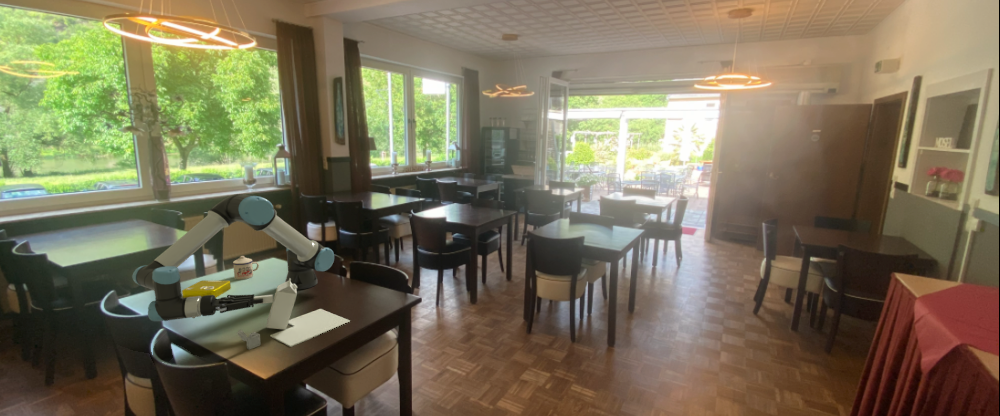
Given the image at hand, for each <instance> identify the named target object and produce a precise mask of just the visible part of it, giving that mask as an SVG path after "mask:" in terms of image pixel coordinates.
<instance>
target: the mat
mask: <svg viewBox="0 0 1000 416" xmlns="http://www.w3.org/2000/svg"><path fill="white" fill-rule="evenodd" d="M350 321H351V320H349V319H348V318H344V317H342V316H339V315H337V314H334V313H332V312H330V311H326V310H324V309H323V308H319V309H316V310H314V311H310V312H308V313H305V314H302V315H299V316H297V317H293V318H290V319H289V322H288V325H290V326H291V327H287V329H285V330H284V329H282V330H279V331H277V332H275V333H272V334H270V336H269V337H271V338H272V339H274V340H276V341H278V342H280V343H283V344H284V345H286V346H287V347H291V348H292V347H294V346H296V345H298V344H301V343H303V342H306V341H308V340H309V341H310V340H311V339H313V337H314V338H316V337H318V336H320V334H321V335H323V334H325V333H328V332H330V331H332V329H333V330H335V329H337V328H340V327H342V326H344V325H346V324H345V323H347V324H349V323H351V322H350ZM348 322H349V323H348ZM343 324H344V325H343ZM341 325H342V326H341ZM339 326H340V327H339ZM336 327H337V328H336ZM334 328H335V329H334ZM329 330H330V331H329ZM327 331H328V332H327ZM322 333H323V334H322Z"/></svg>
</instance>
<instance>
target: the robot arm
mask: <svg viewBox="0 0 1000 416" xmlns="http://www.w3.org/2000/svg"><path fill="white" fill-rule="evenodd" d="M236 222H238V223H244V224H245V225H247V226H248V227H250V228H251V229H252V230H254V231H256V232H261V231H263V232H264V233H265V234H266V235H267V236H269V237H270V238H272V239H273V240H275V241H276V242H278V243H279V244H280V245H282V246H284V247H285V248H286V250H285V252H286V259H287V260H286V261H287V262H286V263H287V273H286V277H285V281H284V283H285V282H287V281H289V279H290V281H291V283H292V284H295V285H296V286H297V288H296V290H304V289H305V290H306V289H309V288H312V287H315V286H316V285H317V284H318V277H317V275H316V273H315V271H317V272H325V271H328V270H330V268H331V267H332V266H333V263H334V261H335V254H334V251H333V250H332V249H331V248H330V247H325V246H323V245H322V244H321V243H319V242H317V240H313V239H312V240H311V239H308V238H307V237H305V235H303V234H302V233H300V231H298V230H296V229H295V228H294V227H293V226H291V225H290V224H289V223H287V222H286V221H284V220H283V219H282V218H281V217H279V216H278V215H277V210H276V209H275V208H274V205H273V204H272V202H271V201H270V200H268V199H266V198H265V197H262V196H260V195H259V196H257V195H247V194H242V193H237V194H232V195H230V196H227V197H225V198H224V199H222V200H221V201H219V202H218V203H217V204H215V205H214V206H213V207H212V208H210V209H209V210H208V211H207V215H206V216H205V217H204V218H203V219H201V220H200V221H199V222H198V223H196V224H195V225H194V226H193V227H192V228H191V229H189V230H188V231H187V232H186V233H185V234H183V235H182V236H181V237H180V238H179V239H178V240H176V241H175V242H174V243H172V245H170V246H169V247H168V248H167V249H165V250H164V251H163V252H162V253H160V255H158V256H157V257H156V258H155V259H153V261H151V262H150V263H149V264H147V265H141V266H139V267H137V268H135V270H134V271H133V273H132V275H131V277H132V280H133V282H134V283H135V284H137V285H139V287H142V288H146V289H149V290H152V291H153V292H154V296H155V300H152V301H150V303H149V304H148V307H147V316H148V318H149V320H150V321H152V322H163V321H164V322H167V321H174V320H180V319H181V320H182V319H190V318H192V319H195V318H198V317H201V316H202V317H207V316H208V317H209V316H213V315H215V314H216V312H217V311H219V313H220V314H223V313H228V312H231V311H236V310H242V309H248V308H254V305H261V304H272V303H273V301H274V294H266V295H257V296H256V295H255V294H227V295H226V296H225V297H224V296H223V297H220V298H217V297H216V298H215V296H214V295H207V296H203V297H201V296H196V297H187V298H183V295H182V286H181V285H182V284H181V274H180V270H179V267H180V266H181V265H182V264H183V263H185V261H186V260H188V259H189V258H191V256H192V255H194V254H195V253H196V252H197V251H198V250H199V249H200V248H201V247H202V246H204V245H205V244H206V243H208V242H209V241H210V240H211V239H212V238H213V237H214V236H215V235H216V234H217V233H219V232H220V231H221V230H222V229H224V228H228V227H229V226H230V225H232V224H233V223H236Z"/></svg>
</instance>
